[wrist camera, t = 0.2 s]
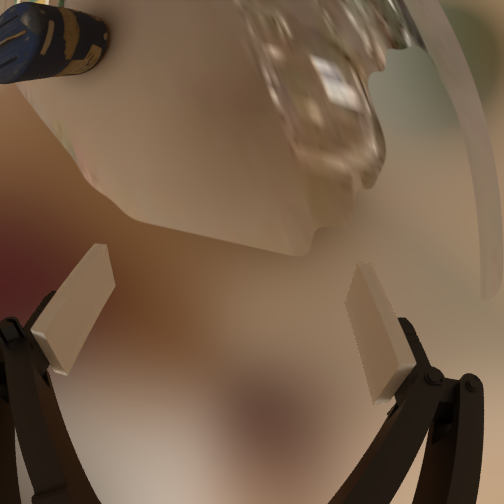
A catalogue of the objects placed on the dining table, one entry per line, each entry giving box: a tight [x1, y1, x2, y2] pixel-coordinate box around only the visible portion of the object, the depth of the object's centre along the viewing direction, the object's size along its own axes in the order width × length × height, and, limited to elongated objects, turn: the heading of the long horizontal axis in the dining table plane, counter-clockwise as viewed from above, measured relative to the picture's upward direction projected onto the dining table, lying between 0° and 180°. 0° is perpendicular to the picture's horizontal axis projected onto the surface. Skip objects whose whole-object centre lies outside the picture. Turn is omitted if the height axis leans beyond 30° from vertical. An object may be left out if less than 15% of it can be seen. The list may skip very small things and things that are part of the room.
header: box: [17, 0, 59, 7], centre depth 23 cm, size 8×8×2 cm
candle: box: [0, 2, 108, 84], centre depth 22 cm, size 10×10×18 cm
